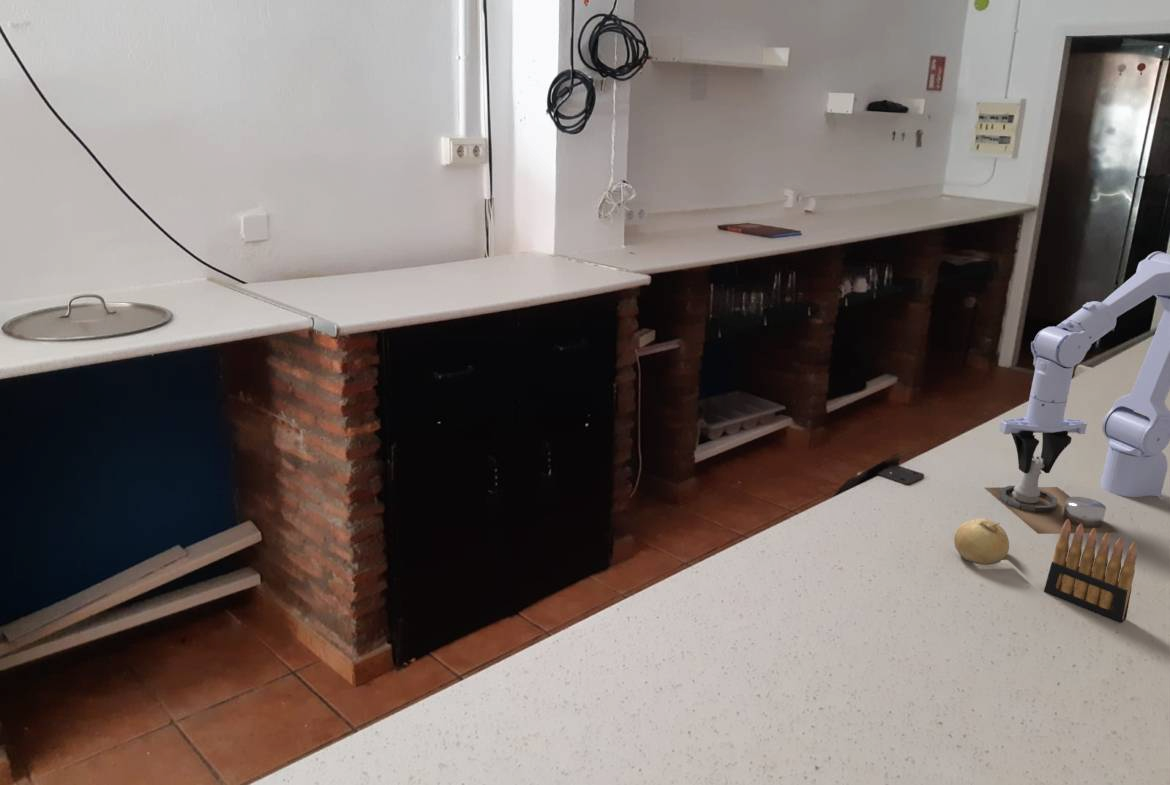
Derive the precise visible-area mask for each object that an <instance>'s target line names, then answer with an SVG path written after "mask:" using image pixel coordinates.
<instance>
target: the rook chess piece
mask: <svg viewBox="0 0 1170 785" xmlns="http://www.w3.org/2000/svg"><path fill="white" fill-rule="evenodd" d="M1040 458H1041V457H1040V456H1038V455H1036V457H1035V455H1034V454H1033V457H1032V462H1031V467H1030V470H1029V473H1023V475H1022V478H1021V480H1020V481H1019V482H1018V483H1017V484H1016V485H1014V486H1015V487H1014V491H1013V492H1012V494H1013V497H1014V498H1015V499H1016V500H1018V501H1020V502H1022V503H1027V504H1034V503H1036V502H1038V501H1039V496H1040V492H1039V488H1038V487H1039V478H1040V476H1041V474H1042V472H1041V471H1042V470H1041V469H1042V468H1043V467H1045V465H1044V463H1043V462H1044V459H1043V458H1041V459H1040Z"/></svg>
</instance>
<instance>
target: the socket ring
mask: <svg viewBox="0 0 1170 785" xmlns="http://www.w3.org/2000/svg"><path fill="white" fill-rule="evenodd" d="M1015 486H1016V485H1008V486H1007V485H1006V486H1004V488H1002V489H1001V493H1000V499H1001V500H1002V501H1003V502H1004V503H1005V504H1007V505H1009V506H1011V507H1014V508H1016V509H1019V510H1022V511H1028V512H1033V513H1049V512H1052V511H1054V510H1056V509H1057V498H1055V497H1054V496H1053V495H1051V494H1050V493H1048V492H1045V491H1042V490H1040V489H1039V492H1040V496H1039V497H1041V498H1044V499H1046V500H1047V501H1048V502H1050V503H1051V504H1049V505H1046V506H1034V505H1029V504H1024V503H1020V502H1018V501H1015V500H1013V499H1011V498H1010V497H1008V496H1007V494H1009V493H1012V492H1013V491H1014V487H1015Z"/></svg>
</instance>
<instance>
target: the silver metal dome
mask: <svg viewBox="0 0 1170 785" xmlns="http://www.w3.org/2000/svg"><path fill="white" fill-rule="evenodd" d="M1106 511H1107V507H1106V505H1105V504H1103V503H1102V502H1100V501H1098V500H1096V499H1092V498H1088V497H1085V496H1070V497H1069V498H1067V499H1066V504H1065V508H1064V513H1063V518H1064V519H1065V520H1067V519H1069V520H1070V523H1071V524H1073V525H1076V526H1079V525H1080V524H1081V523H1082V525H1083V527H1084V528H1099V527H1101V526H1102V524H1103V521H1104V518H1105V516H1106V515H1105V514H1106Z"/></svg>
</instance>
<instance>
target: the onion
mask: <svg viewBox="0 0 1170 785" xmlns="http://www.w3.org/2000/svg"><path fill="white" fill-rule="evenodd" d="M1000 524H1001V523H1000V522H998V523H997V522H994V521H992V520H991V519H989V518H983V517H982V518H975V519H970V520H968V521H965V522H963V523H962V524H961V525H959V527H957V529H956V532H955V533H954V538H953V539H954V541H953V542H954V543H953V544H954V548H955V550H956V551H957V552H958V554H959V555H961V557H962V558H963V559H965V560H966V561H968V562H971V563H974V564H977V565H983V566H985V565H987V566H988V565H989V566H990V565H994V564H998V563H1001V561H1003V560H1004V559H1005V558H1006V557H1007V555H1008V554H1009V549H1010V540H1009V537H1008V535H1007V533H1006V531H1005V529H1004V528H1003V527H1002V526H1000Z"/></svg>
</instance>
